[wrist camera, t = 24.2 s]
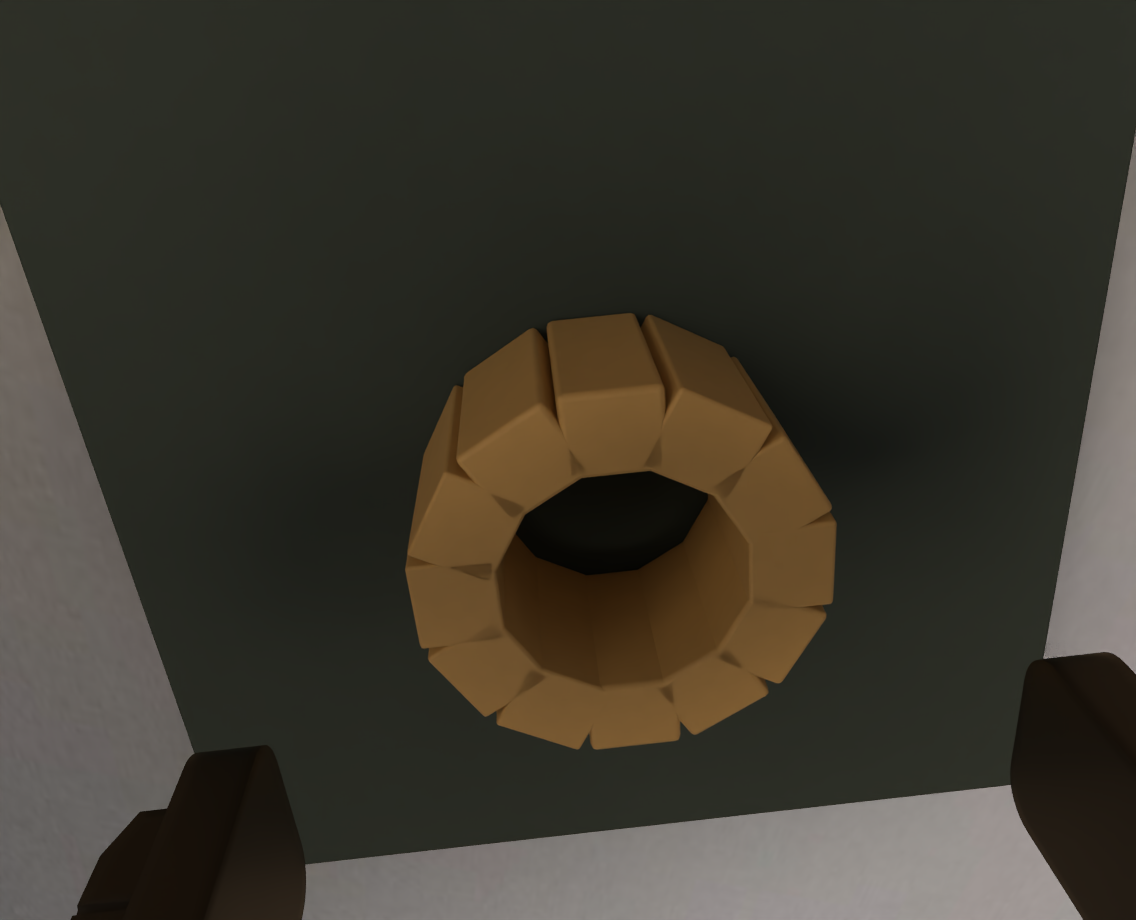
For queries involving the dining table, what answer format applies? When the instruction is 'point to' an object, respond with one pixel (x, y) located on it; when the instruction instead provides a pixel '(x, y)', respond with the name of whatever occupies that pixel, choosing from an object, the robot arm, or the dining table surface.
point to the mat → (531, 300)
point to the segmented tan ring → (629, 598)
